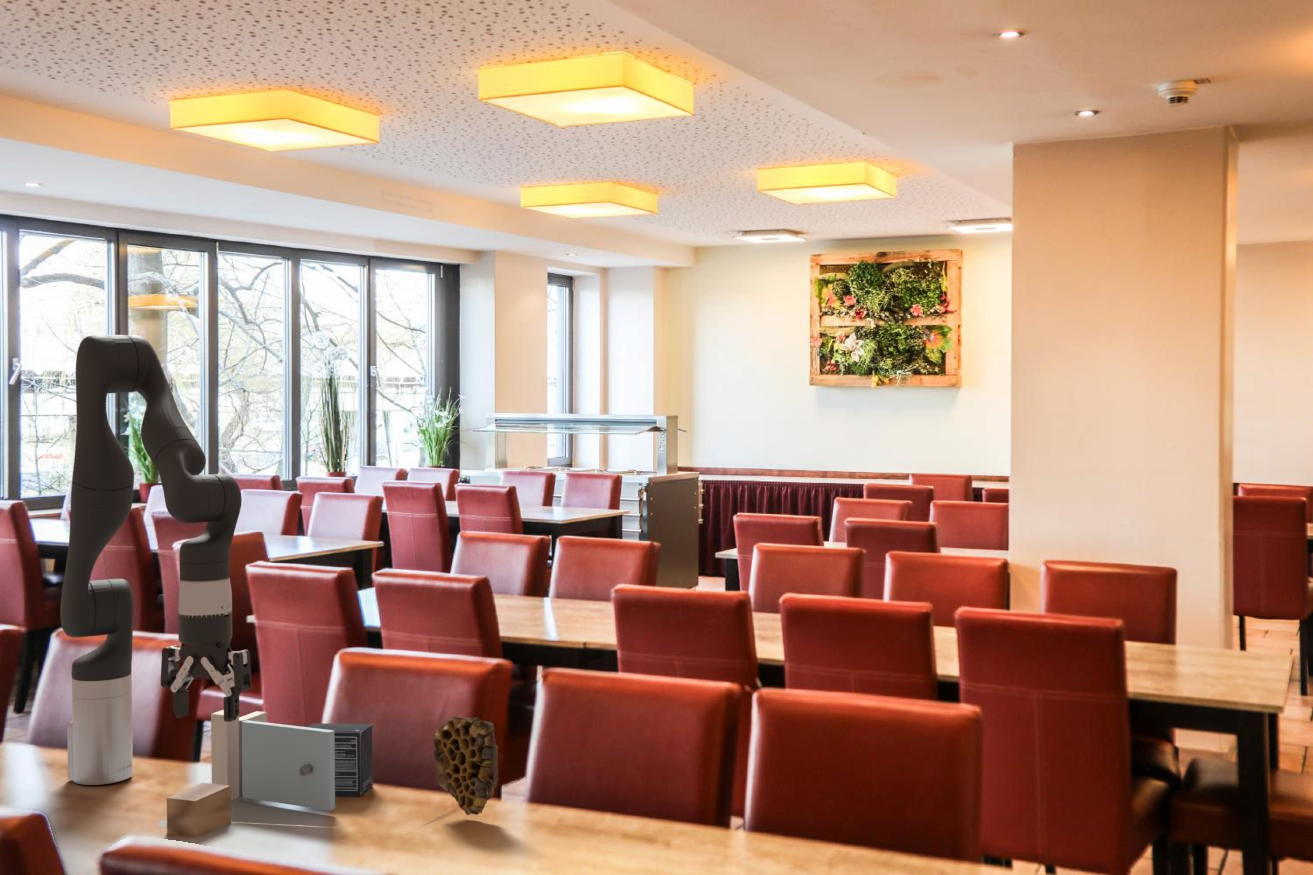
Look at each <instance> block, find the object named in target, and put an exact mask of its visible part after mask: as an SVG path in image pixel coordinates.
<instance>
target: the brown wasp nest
mask: <svg viewBox="0 0 1313 875" xmlns="http://www.w3.org/2000/svg"><path fill="white" fill-rule="evenodd" d="M495 736H496V735H495V728H494V723H493V722H489V721H484V720H482V719H481V718H478V717H475V716H472V717H463V716H454V717H451V718H450V719H447V721H446V723H442V724H441V725H440V728H439V729H436V730H435V733H434V738H433V749H434V750H433V757H434V760H435V762H436V780H437V785H439V786H440V787H441V788H442V789H443V790H444V791H445V792H448V793H449V794H450V795H451V797H452V798H454V799H455V802H457V805H458V807H459V808H460V809H461V810H462V811H464V813H465V814H466V816H471V815H479V814H483V811H484V808H486V807H485V806H486V804H487V802H488V801H489V800H491V798H492V797H493V796H494V795H495V792H494V789H495V788H497V785H498V780H499V778H498V774H499V768H498V767H499V766H498V765H499V763H498V755H499V751H498V750H499V746H498V745H497V744H496V738H495Z"/></svg>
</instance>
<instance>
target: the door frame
mask: <svg viewBox="0 0 1313 875" xmlns="http://www.w3.org/2000/svg"><path fill="white" fill-rule="evenodd" d="M267 713H268V712H267V711H259V710H256V711H254V712H251V713H249V714H246V715H242V716H240V714H239V715H238V716H237V719H236V720H234V721H231V722H225V721H224V709H221V710H218V711H216V712H213V713H211V714H210V721H211V722H210V735H211V737H210V738H211V739H210V742H211V743H210V744H211V746H210V747H211V750H210V752H211V754H210V755H211V756H210V757H211V783H212V784H221V785H230V786H231V801H233V799H234V800H236V799H238V798H237V797H239V720H245V721H246V720H250V721H258V722H267V723H268V718H267V717H268V714H267ZM239 798H240V797H239ZM154 825H156V826H158V827H160V828H167V818H165V819H163V820H161V821H159V822H156V823H154Z"/></svg>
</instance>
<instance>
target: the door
mask: <svg viewBox="0 0 1313 875" xmlns="http://www.w3.org/2000/svg"><path fill="white" fill-rule="evenodd" d="M239 798H242V799H243V798H244V799H250V800H251V799H252V800H255V801H256V800H257V801H264V802H269V803H277V804H285V805H289V806H290V805H292V806H298V807H303V808H304V807H305V808H311V809H316V810H317V809H319V810H324V811H333V810H335V808H336V796H335V740H334V730H326V729H317V728H309V727H307V726H299V725H290V724H283V723H282V724H281V723H274V722H268V721H267V722H258V721H250V720H246V721H245V720H239Z"/></svg>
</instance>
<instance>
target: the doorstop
mask: <svg viewBox="0 0 1313 875" xmlns="http://www.w3.org/2000/svg"><path fill="white" fill-rule="evenodd" d="M231 806H232V800H231V786H230V785H221V784H212V782H211V783H210V782H200V783H199V784H195V785H193V786H192V787H189V788H187V789H184V790H181V791H180V792H176V793H175V794H173V795H170V796H168V797H166V819H167V827H166V834H168V835H176V836H183V837H191V838H198V837H201V836H202V835H205V834H207V833H210V832H213V831H215V830H216V829H219V828H221V827H224V826H225V825H229V824H230V823H232V811H231V810H232V807H231Z"/></svg>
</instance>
